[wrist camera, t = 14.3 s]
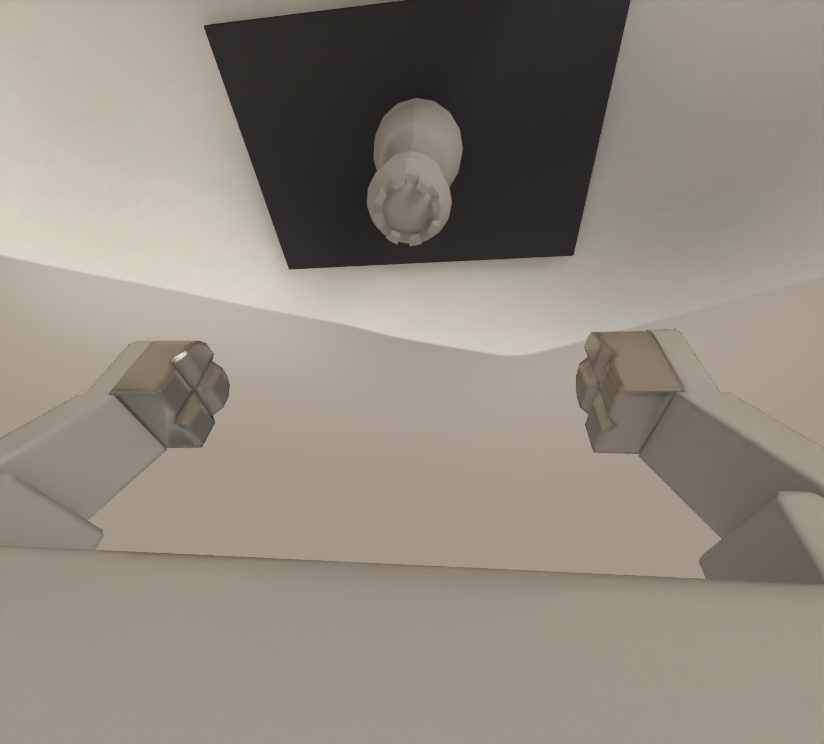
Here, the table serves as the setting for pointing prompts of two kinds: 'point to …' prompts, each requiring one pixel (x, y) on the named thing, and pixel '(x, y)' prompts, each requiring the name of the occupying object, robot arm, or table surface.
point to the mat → (431, 80)
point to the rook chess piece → (414, 171)
